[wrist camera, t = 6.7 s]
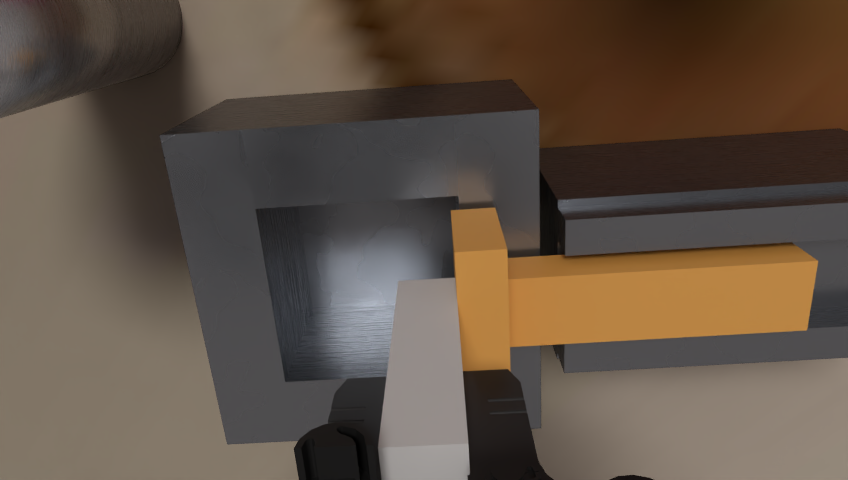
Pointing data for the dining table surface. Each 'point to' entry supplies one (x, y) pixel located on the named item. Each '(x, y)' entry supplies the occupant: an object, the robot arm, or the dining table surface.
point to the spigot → (80, 46)
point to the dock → (432, 231)
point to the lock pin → (618, 293)
